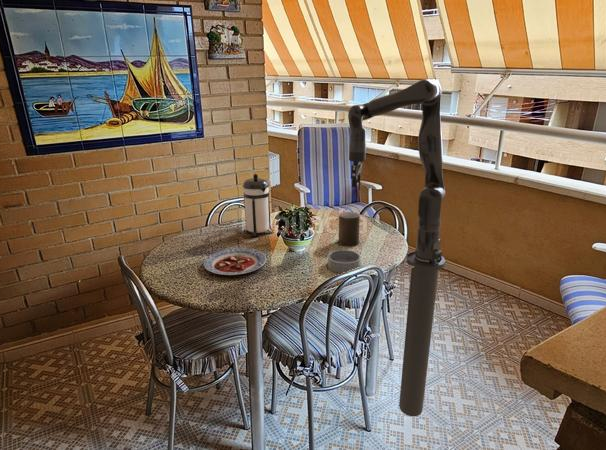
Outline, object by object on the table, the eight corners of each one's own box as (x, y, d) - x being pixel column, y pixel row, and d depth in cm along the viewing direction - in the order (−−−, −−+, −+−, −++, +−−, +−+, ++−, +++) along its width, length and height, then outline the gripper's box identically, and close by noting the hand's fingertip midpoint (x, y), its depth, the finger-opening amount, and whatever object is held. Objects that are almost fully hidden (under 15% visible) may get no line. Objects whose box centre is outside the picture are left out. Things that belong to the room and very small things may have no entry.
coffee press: (277, 227, 213) (275, 170, 203) (267, 238, 199) (265, 178, 188) (246, 225, 217) (242, 169, 207) (234, 235, 202) (230, 176, 192)
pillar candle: (354, 247, 187) (355, 216, 182) (334, 243, 192) (335, 213, 186) (362, 240, 195) (363, 210, 190) (343, 237, 200) (344, 207, 194)
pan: (366, 266, 168) (367, 256, 167) (345, 276, 160) (345, 266, 159) (342, 256, 178) (343, 247, 176) (321, 266, 169) (321, 256, 168)
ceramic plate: (248, 283, 155) (248, 276, 154) (191, 273, 164) (190, 267, 163) (276, 257, 178) (276, 251, 177) (224, 249, 186) (224, 243, 185)
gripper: (363, 153, 178) (361, 189, 184) (368, 148, 191) (366, 181, 197) (346, 152, 181) (345, 188, 186) (352, 147, 193) (351, 180, 199)
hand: (356, 184), depth 191 cm, fingers open, 8 cm apart
